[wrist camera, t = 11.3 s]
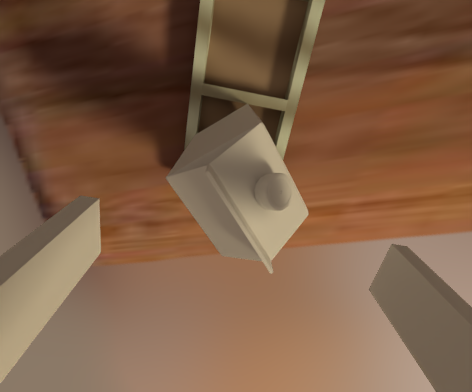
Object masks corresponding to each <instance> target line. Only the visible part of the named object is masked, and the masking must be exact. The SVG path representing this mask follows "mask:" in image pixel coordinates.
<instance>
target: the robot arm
mask: <svg viewBox="0 0 472 392" xmlns="http://www.w3.org/2000/svg"><path fill="white" fill-rule="evenodd" d="M100 253H101V243H100V208H99V198H92V197H86V196H79V197H78V198H77V199H75V200H74V201H73V202H71V203H70V204H69V205H67V206H66V207H65V208H63V209H62V210H61V211H59V212H58V213H57V214H55V215H54V216H53V217H51V218H50V219H49V220H47V221H46V222H45V223H43V224H42V225H41V226H40V227H38V228H37V229H35V230H34V231H33V232H32V233H30V234H29V235H28V236H26V237H25V238H24V239H22V240H21V241H20V242H18V243H17V244H16V245H14V246H13V247H12V248H10V249H9V250H8V251H6V252H5V253H4V254H3V255H1V256H0V383H1V382H2V381H3V379H4V378H5V377H6V375H7V374H8V373H9V371H10V370H11V369H12V368H13V366H14V365H15V364H16V362H17V361H18V360H19V358H20V357H21V356H22V355H23V353H24V352H25V351H26V349H27V348H28V347H29V345H30V344H31V343H32V341H33V340H34V339H35V337H36V336H37V335H38V334H39V332H40V331H41V329H42V328H43V327H44V326H45V324H46V323H47V322H48V321H49V319H50V318H51V317H52V315H53V314H54V313H55V311H56V310H57V309H58V307H59V306H60V305H61V304H62V302H63V301H64V300H65V298H66V297H67V296H68V294H69V293H70V292H71V291H72V289H73V288H74V287H75V285H76V284H77V283H78V281H79V280H80V279H81V277H82V276H83V275H84V274H85V272H86V271H87V270H88V268H89V267H90V266H91V264H92V263H93V262H94V261H95V259H96V258H97V257H98V255H99V254H100ZM369 290H370V292H371V293H372V295H373V296H374V298H375V300H376V301H377V303H378V304H379V305H380V307H381V309H382V310H383V312H384V313H385V315H386V316H387V318H388V319H389V321H390V322H391V324H392V325H393V327H394V328H395V330H396V331H397V333H398V334H399V336H400V338H401V339H402V341H403V342H404V344H405V345H406V347H407V348H408V350H409V351H410V353H411V354H412V356H413V357H414V359H415V360H416V362H417V363H418V365H419V366H420V368H421V369H422V371H423V372H424V374H425V375H426V377H427V379H428V380H429V382H430V383H431V385H432V386H433V388H434V389H435V391H436V392H472V307H471V306H470V305H468V303H466V302H465V301H464V300H463V299H462V298H461V297H460V296H459V295H458V294H457V293H456V292H455V291H454V290H453V289H452V288H451V287H450V286H448V285H447V284H446V283H445V282H444V281H443V280H442V279H441V278H440V277H439V276H438V275H437V274H436V273H434V271H433V270H431V269H430V268H429V267H428V266H427V265H426V264H425V263H424V262H423V261H422V260H421V259H420V258H419V257H418V256H417V255H415V253H413V252H412V251H411V250H410V249H409V248H408V247H407V246H401V245H394V244H392V245H391V247H390V248H389V250H388V252H387V254H386V257H385V258H384V260H383V262H382V264H381V266H380V268H379V270H378V272H377V274H376V276H375V278H374V280H373V282H372V284H371V286H370V288H369Z"/></svg>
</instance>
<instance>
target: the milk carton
mask: <svg viewBox="0 0 472 392" xmlns="http://www.w3.org/2000/svg"><path fill="white" fill-rule="evenodd" d="M166 179H167V180H168V182H169V183H170V185H171V186H172V188H173V189H174V190H175V192H176V193H177V195H178V196H179V197H180V199H181V200H182V201H183V203H184V204H185V206H186V207H187V208H188V210H189V211H190V213H191V214H192V215H193V217H194V218H195V219H196V221H197V222H198V224H199V225H200V226H201V228H202V229H203V231H204V232H205V233H206V235H207V236H208V237H209V239H210V240H211V242H212V243H213V244H214V246H215V247H216V249H217V250H218V251H219V253H220V254H221V255H222V256H227V257H234V258H241V259H249V260H257V261H263V263H264V264H265V266H266V267H267V269H268V270H269V272H270V273H273V268H272V263H271V261H272V259H273V258H274V257H275V256H276V254H277V253H278V252H279V251H280V249H281V248H282V247H283V246H284V244H285V243H286V242H287V241H288V240H289V238H290V237H291V236H292V235H293V233H294V232H295V231H296V230H297V228H298V227H299V226H300V225H301V223H302V222H303V221H304V220H305V218H306V217H307V216H308V210H307V207H306V205H305V203H304V201H303V199H302V197H301V195H300V193H299V191H298V189H297V187H296V185H295V183H294V181H293V179H292V177H291V175H290V174H289V172H288V170H287V168H286V166H285V164H284V162H283V160H282V158H281V156H280V154H279V152H278V150H277V148H276V146H275V144H274V142H273V140H272V138H271V136H270V135H269V133H268V131H267V129H266V127H265V126H264V124H263V122H262V121H261V120H260V118H259V117H258V116H257V115H256V113H255V112H254V111H253V110H252V108H251V107H250V106H249V105H248V104H246V105H244V106H243V107H241V108H239V109H238V110H236V111H234V112H233V113H231V114H229V115H228V116H226V117H224V118H223V119H221V120H219V121H218V122H216V123H214V124H213V125H211V126H209V127H208V128H206V129H204V130H203V131H201V132H199V133H198V134H196V135H195V136H194V137H193V139H192V140H191V142H190V143H189V145H188V146H187V148H186V149H185V150H184V152H183V153H182V155H181V156H180V158H179V159H178V161H177V162H176V164H175V165H174V167H173V168H172V170H171V171H170V173H169V174H168V175H167V177H166Z"/></svg>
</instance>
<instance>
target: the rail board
mask: <svg viewBox="0 0 472 392" xmlns="http://www.w3.org/2000/svg"><path fill="white" fill-rule="evenodd" d="M324 3H325V0H200V7H199V16H198V26H197V35H196V44H195V54H194V63H193V72H192V82H191V91H190V100H189V110H188V119H187V128H186V138H185V147H184V150H185V149H186V148H187V146H188V145H189V143H190V142H191V140H192V139H193V137H194V136H195V135H196V134H198V133H199V132H201V131H203V130H204V129H206V128H208V127H209V126H211V125H213V124H214V123H216V122H218V121H219V120H221V119H223V118H224V117H226V116H228V115H229V114H231V113H233V112H234V111H236V110H238V109H239V108H241V107H243V106H244V105H246V104H248V105H249V106H250V107H251V108H252V110H253V111H254V112H255V113H256V115H257V116H258V117H259V118H260V120H261V121H262V122H263V124H264V126H265V127H266V129H267V131H268V133H269V135H270V136H271V138H272V140H273V142H274V144H275V146H276V148H277V150H278V152H279V154H280V156H281V158H282V160H283V158H284V154H285V150H286V147H287V143H288V139H289V135H290V131H291V128H292V124H293V120H294V116H295V112H296V109H297V105H298V101H299V97H300V94H301V90H302V86H303V82H304V78H305V75H306V71H307V67H308V63H309V59H310V56H311V52H312V48H313V44H314V40H315V37H316V33H317V29H318V25H319V22H320V18H321V14H322V10H323V6H324Z"/></svg>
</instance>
